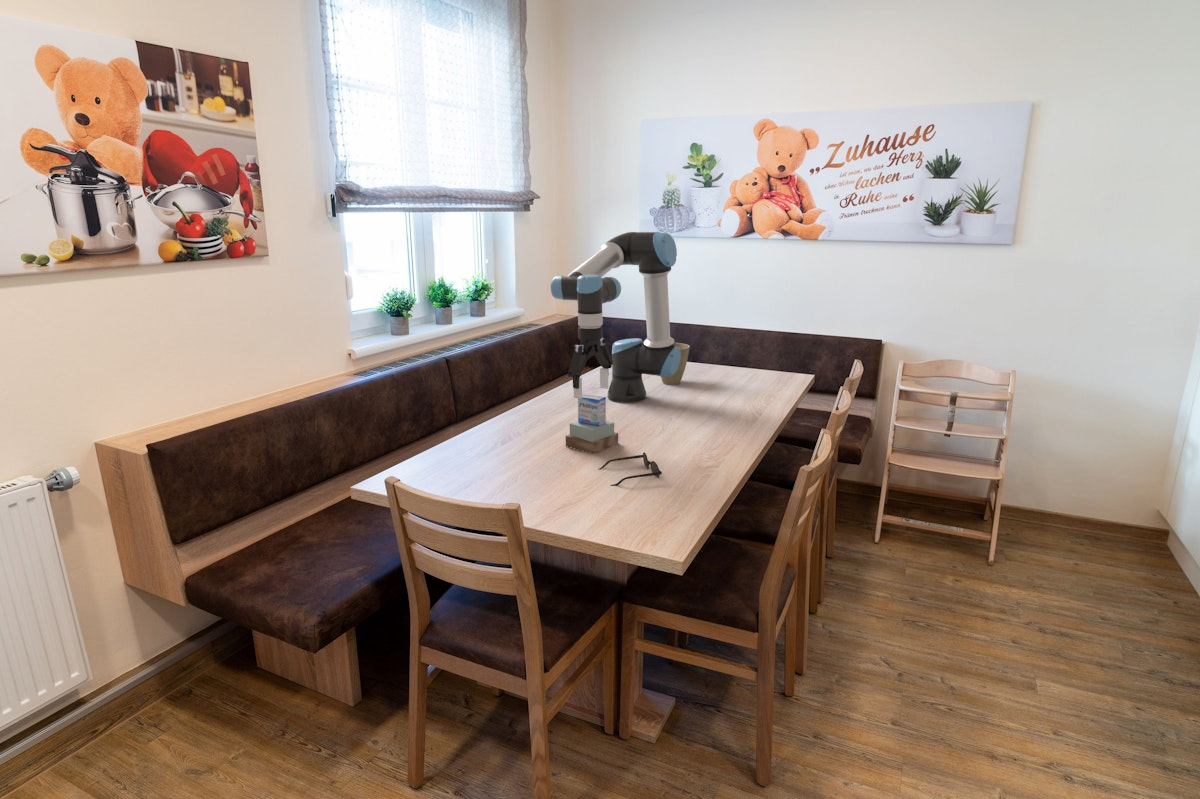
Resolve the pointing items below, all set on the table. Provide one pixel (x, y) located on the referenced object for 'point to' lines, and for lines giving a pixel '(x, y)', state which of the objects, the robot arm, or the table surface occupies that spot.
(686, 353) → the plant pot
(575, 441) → the walnut slab
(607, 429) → the sage slab
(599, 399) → the medicine box
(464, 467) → the table surface
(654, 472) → the eyeglasses
